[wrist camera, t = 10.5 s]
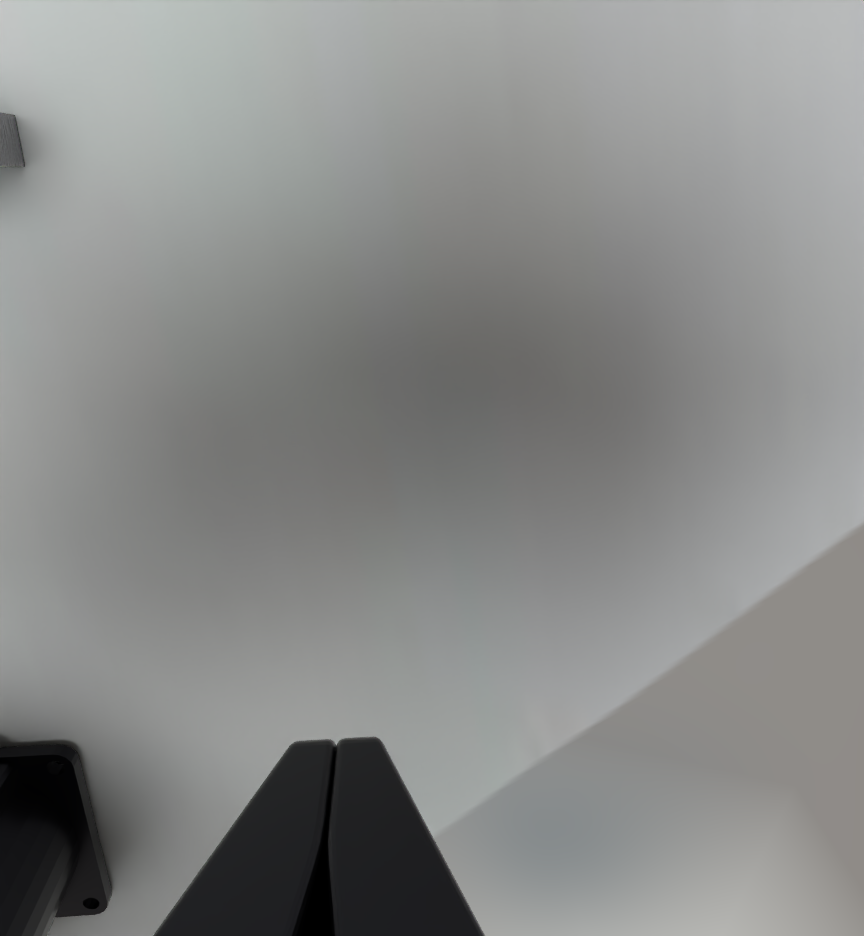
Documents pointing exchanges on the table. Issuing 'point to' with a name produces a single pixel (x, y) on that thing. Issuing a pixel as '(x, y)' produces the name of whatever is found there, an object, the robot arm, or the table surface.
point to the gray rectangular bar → (10, 142)
